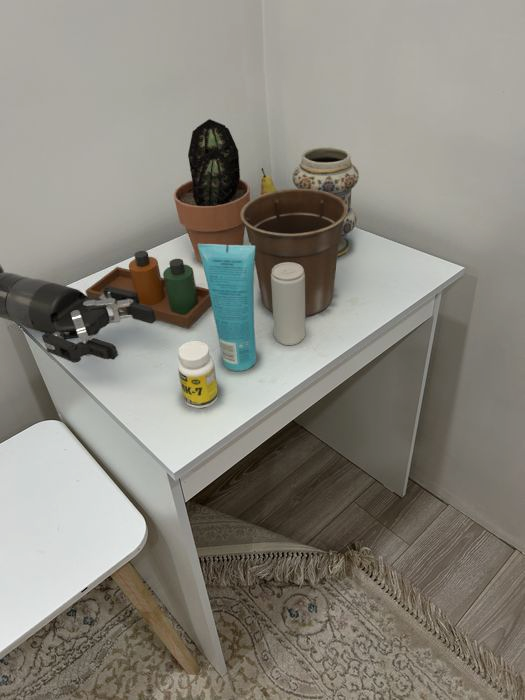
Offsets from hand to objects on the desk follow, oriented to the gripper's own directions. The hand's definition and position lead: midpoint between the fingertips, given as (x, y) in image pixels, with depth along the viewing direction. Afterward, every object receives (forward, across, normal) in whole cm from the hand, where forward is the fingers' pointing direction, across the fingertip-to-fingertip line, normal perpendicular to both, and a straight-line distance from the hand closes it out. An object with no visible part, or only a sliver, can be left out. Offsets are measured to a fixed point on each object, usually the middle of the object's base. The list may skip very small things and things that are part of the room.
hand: (135, 334), depth 74 cm
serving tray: (-11, -17, -8) cm, 22 cm away
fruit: (-6, -53, -8) cm, 54 cm away
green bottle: (-4, -17, -8) cm, 19 cm away
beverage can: (+15, -17, -8) cm, 24 cm away
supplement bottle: (+10, 0, -8) cm, 13 cm away
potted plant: (-8, -35, -8) cm, 37 cm away
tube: (+11, -9, -8) cm, 16 cm away
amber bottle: (-11, -17, -8) cm, 22 cm away
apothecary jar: (+9, -45, -8) cm, 47 cm away
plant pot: (+11, -27, -8) cm, 31 cm away
